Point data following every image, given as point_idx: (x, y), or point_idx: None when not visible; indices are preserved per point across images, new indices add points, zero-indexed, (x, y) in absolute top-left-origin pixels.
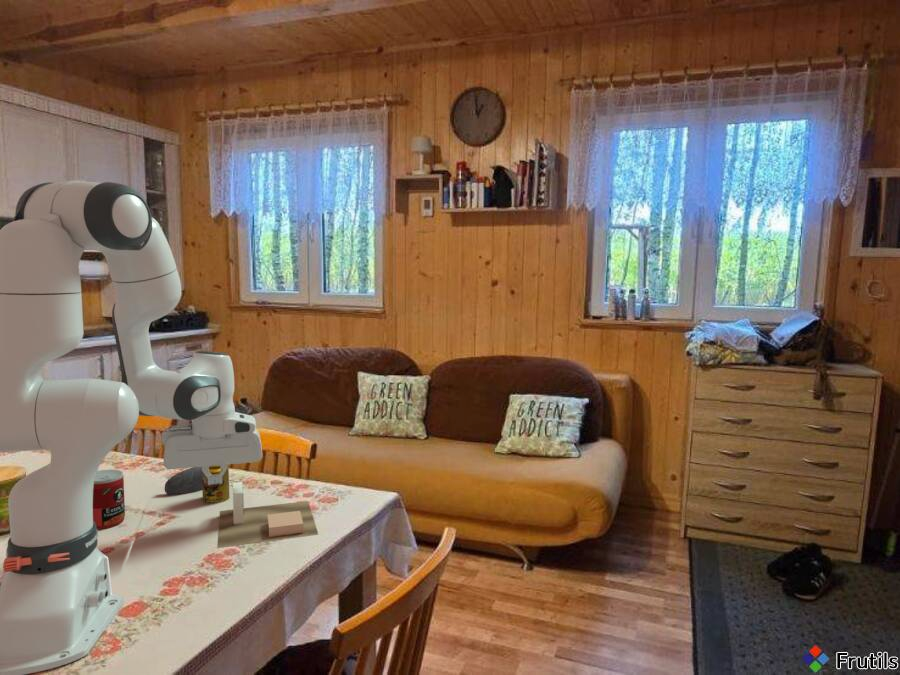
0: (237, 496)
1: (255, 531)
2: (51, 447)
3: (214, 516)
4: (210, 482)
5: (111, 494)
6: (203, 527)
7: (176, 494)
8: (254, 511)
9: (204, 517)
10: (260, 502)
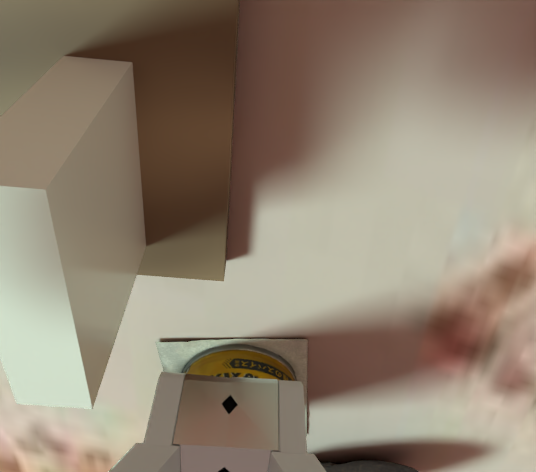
0: (11, 165)
1: None
2: None
3: (254, 266)
4: (277, 397)
5: None
6: (323, 156)
7: (394, 469)
8: None
9: (304, 271)
10: None
